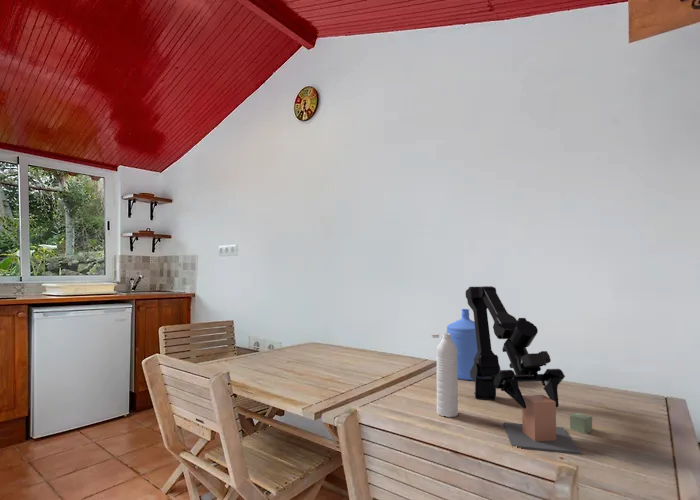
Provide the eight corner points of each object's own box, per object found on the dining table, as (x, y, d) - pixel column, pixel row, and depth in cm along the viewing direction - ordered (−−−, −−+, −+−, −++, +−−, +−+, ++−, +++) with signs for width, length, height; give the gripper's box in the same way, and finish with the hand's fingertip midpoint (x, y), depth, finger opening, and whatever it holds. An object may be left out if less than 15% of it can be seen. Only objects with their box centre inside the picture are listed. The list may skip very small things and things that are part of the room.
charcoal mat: (512, 447, 104) (512, 445, 104) (503, 424, 120) (503, 422, 120) (581, 454, 100) (581, 452, 101) (562, 429, 116) (562, 427, 116)
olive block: (570, 429, 117) (570, 414, 117) (577, 426, 119) (577, 412, 119) (584, 433, 113) (584, 419, 113) (592, 430, 115) (591, 416, 115)
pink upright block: (522, 432, 113) (522, 395, 113) (542, 431, 113) (542, 394, 114) (534, 441, 107) (534, 402, 107) (556, 440, 107) (555, 401, 108)
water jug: (479, 382, 162) (479, 312, 163) (441, 377, 171) (441, 309, 172) (489, 374, 176) (488, 309, 177) (453, 369, 184) (453, 306, 185)
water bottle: (450, 409, 132) (450, 331, 133) (462, 416, 126) (461, 334, 127) (426, 412, 129) (426, 332, 130) (437, 419, 123) (437, 336, 124)
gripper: (498, 341, 114) (519, 393, 103) (560, 340, 116) (588, 391, 105) (485, 363, 122) (504, 414, 110) (544, 361, 124) (568, 411, 112)
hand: (541, 407), depth 109 cm, fingers open, 9 cm apart
